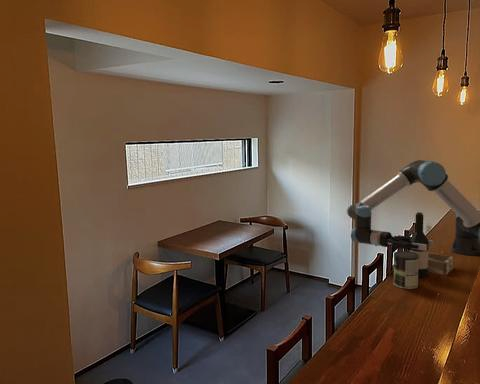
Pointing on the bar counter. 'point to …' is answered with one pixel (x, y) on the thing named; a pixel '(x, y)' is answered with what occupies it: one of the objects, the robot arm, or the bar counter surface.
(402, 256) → the coffee can
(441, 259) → the u rest
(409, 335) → the bar counter surface
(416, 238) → the wine bottle
